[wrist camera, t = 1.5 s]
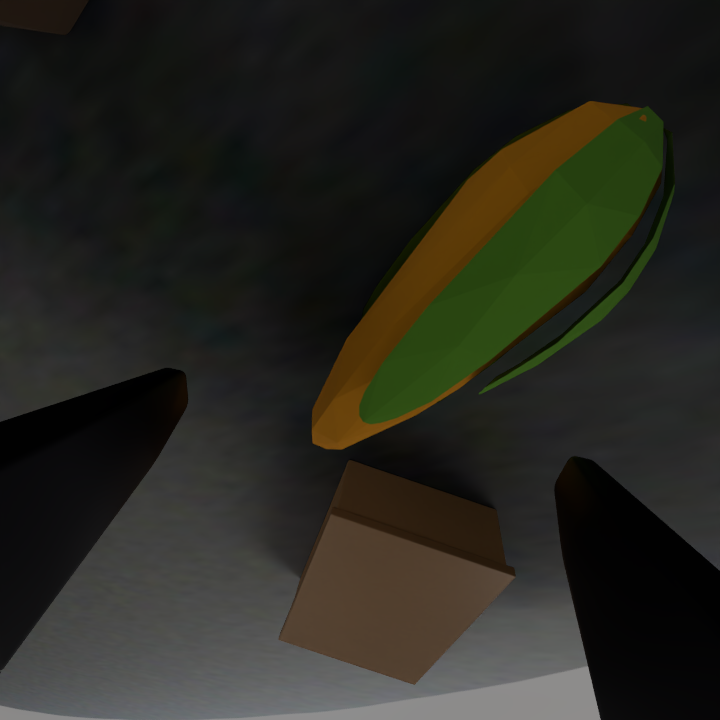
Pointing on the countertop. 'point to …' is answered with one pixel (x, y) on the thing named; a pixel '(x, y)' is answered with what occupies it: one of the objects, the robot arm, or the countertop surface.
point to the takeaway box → (396, 574)
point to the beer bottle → (41, 14)
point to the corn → (500, 266)
